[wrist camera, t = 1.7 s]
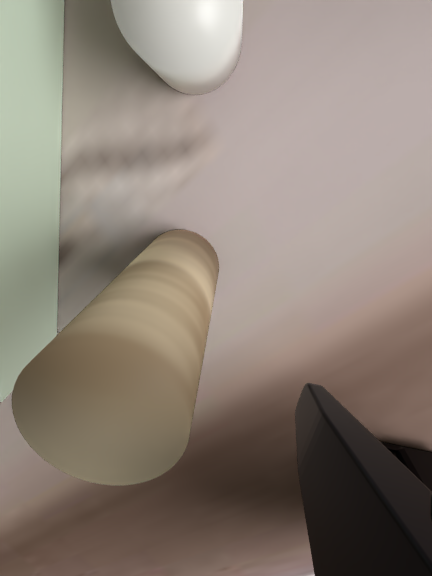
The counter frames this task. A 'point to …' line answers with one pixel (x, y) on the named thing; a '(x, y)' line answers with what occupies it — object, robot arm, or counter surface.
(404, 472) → the robot arm
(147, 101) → the counter surface
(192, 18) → the white rounded piece
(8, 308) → the hole block
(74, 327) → the tan wooden cylinder
